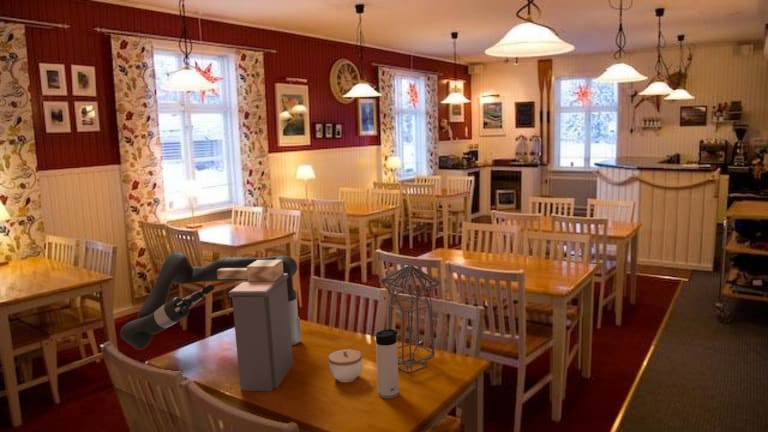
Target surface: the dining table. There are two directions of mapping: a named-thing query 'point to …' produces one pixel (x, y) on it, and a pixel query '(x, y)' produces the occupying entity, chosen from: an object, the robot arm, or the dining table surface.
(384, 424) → the dining table surface
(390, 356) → the travel mug
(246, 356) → the tall grey pillar box
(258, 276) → the beech mallet
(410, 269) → the geometric lantern
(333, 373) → the lidded jar
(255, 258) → the robot arm
